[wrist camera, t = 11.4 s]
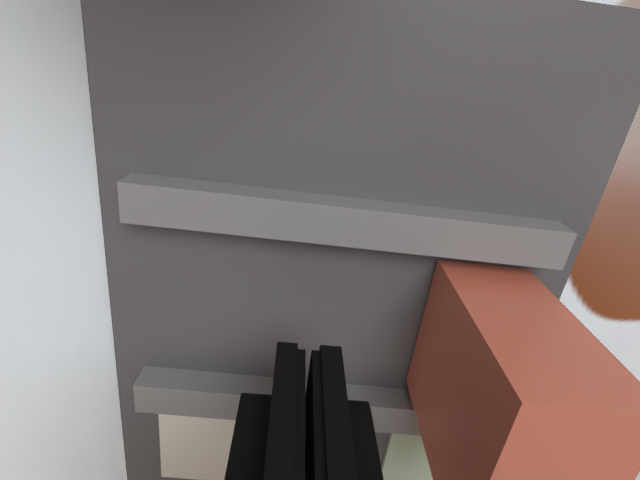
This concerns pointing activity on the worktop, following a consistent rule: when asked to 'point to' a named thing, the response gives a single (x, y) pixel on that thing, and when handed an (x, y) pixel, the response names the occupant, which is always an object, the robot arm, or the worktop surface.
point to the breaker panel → (331, 188)
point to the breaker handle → (517, 384)
